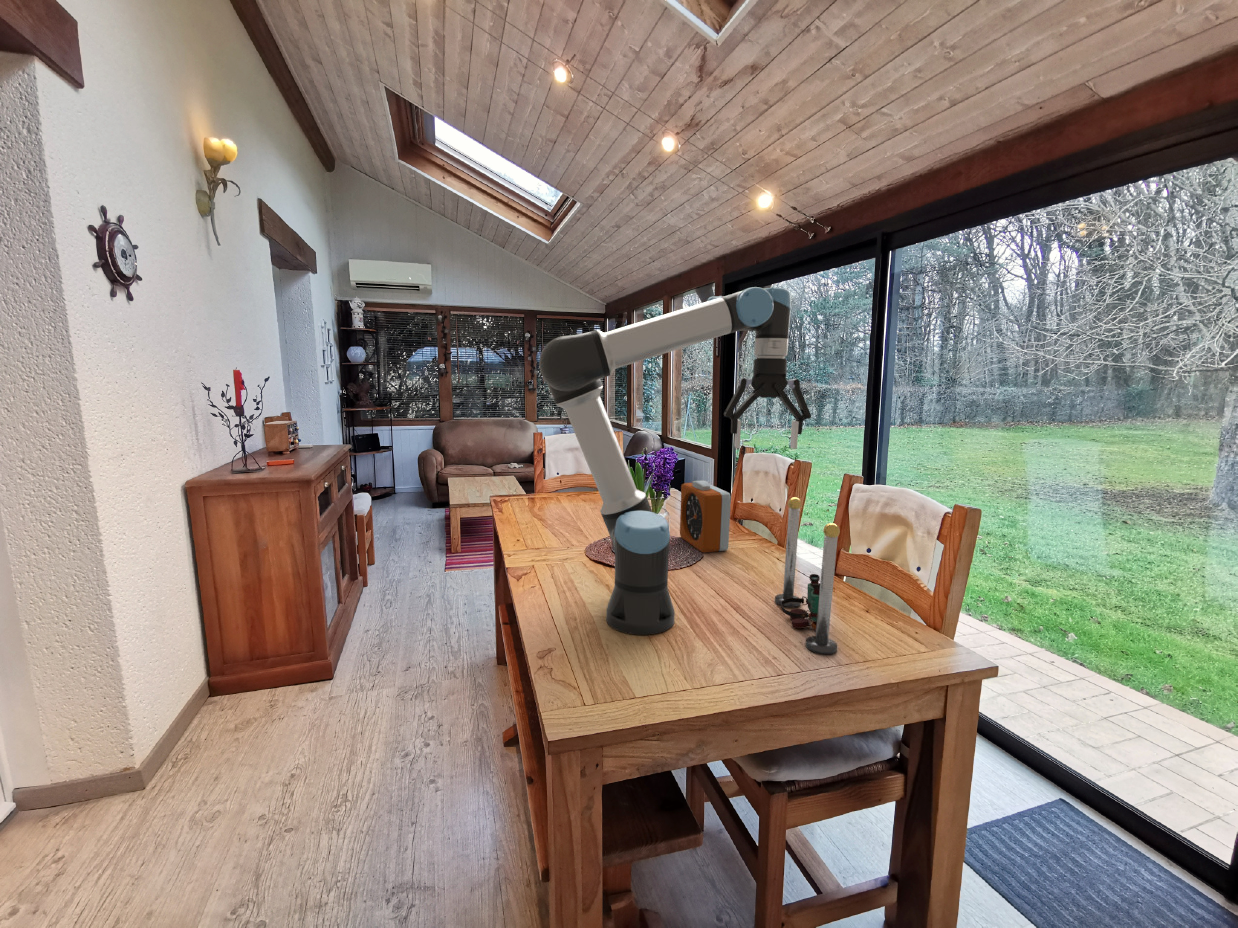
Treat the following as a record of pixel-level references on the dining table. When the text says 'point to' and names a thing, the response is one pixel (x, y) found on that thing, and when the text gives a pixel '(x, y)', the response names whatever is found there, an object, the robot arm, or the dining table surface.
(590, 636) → the dining table surface
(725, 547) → the alarm clock
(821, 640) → the post near
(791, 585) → the post far
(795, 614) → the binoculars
